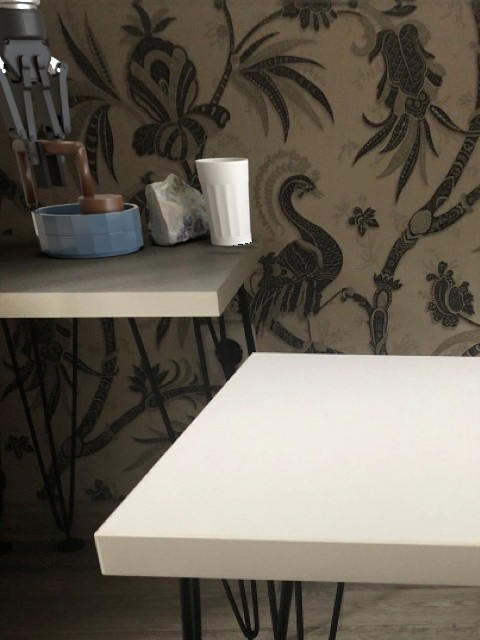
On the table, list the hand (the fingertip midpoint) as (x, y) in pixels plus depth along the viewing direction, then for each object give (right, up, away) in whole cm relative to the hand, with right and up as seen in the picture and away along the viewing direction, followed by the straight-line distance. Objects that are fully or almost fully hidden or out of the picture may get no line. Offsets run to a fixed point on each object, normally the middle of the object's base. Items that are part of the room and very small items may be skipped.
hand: (52, 186), depth 143 cm
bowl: (+7, -11, -1) cm, 13 cm away
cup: (+27, -7, +4) cm, 28 cm away
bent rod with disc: (+3, -4, 0) cm, 5 cm away
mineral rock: (+19, -6, +6) cm, 21 cm away
